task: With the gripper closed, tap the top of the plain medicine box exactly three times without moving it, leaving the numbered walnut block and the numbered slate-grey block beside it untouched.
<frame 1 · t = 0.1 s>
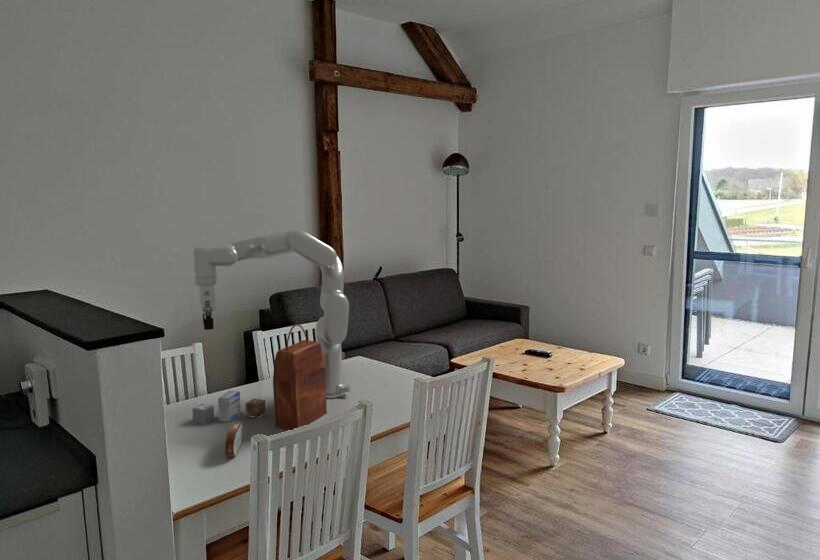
hand: (208, 326, 216), 31 cm above the table, tool pointing down, fingers open, 9 cm apart
slate-grey block: (203, 420, 208), on the table
handbag: (301, 419, 209), on the table
medicine box: (230, 418, 211), on the table
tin: (235, 451, 183), on the table
walnut block: (256, 414, 213), on the table
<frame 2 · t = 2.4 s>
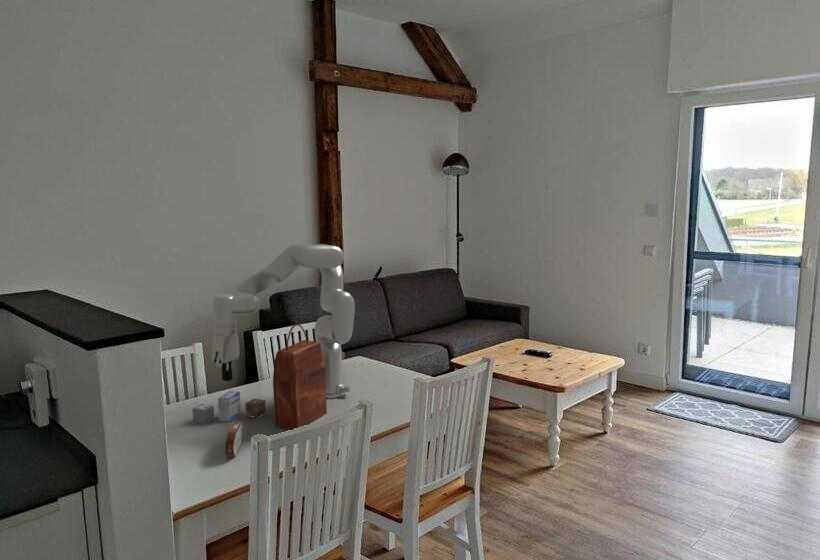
hand: (227, 380, 208), 14 cm above the table, tool pointing down, fingers closed
nothing on the table moved.
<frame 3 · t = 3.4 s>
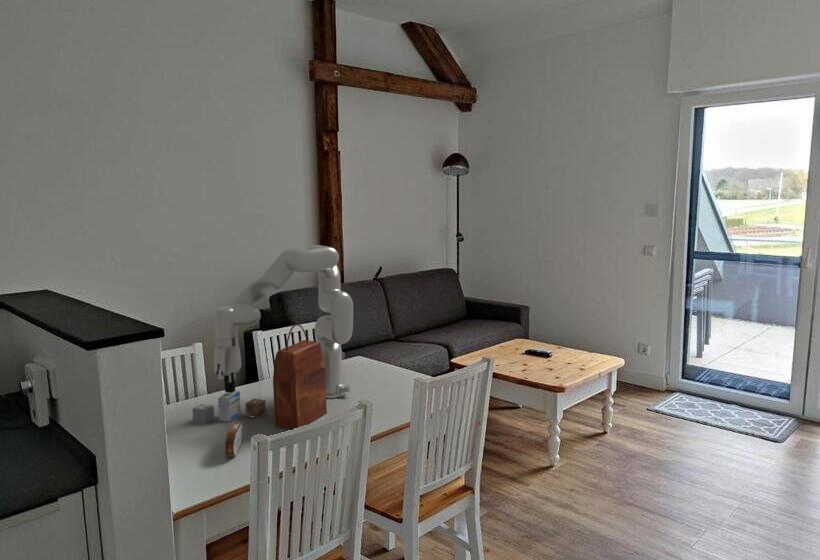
hand: (230, 391, 210), 10 cm above the table, tool pointing down, fingers closed
nothing on the table moved.
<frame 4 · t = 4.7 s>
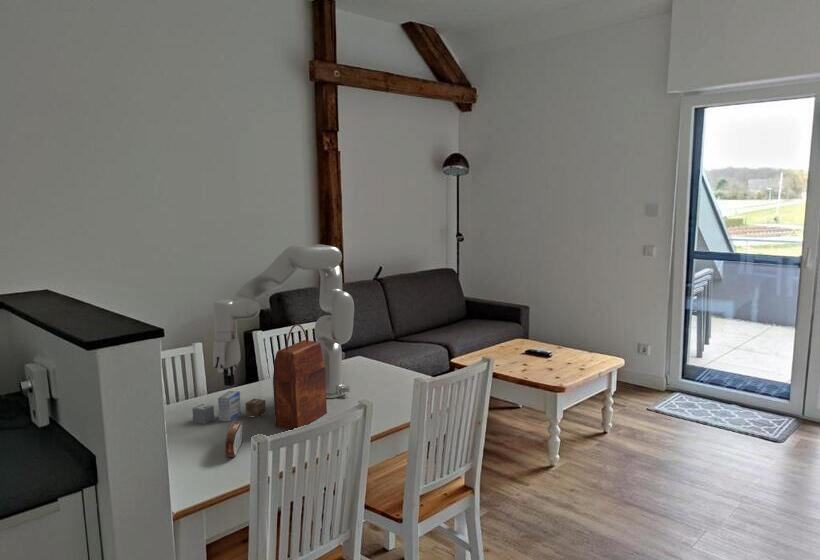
hand: (229, 384, 209), 12 cm above the table, tool pointing down, fingers closed
nothing on the table moved.
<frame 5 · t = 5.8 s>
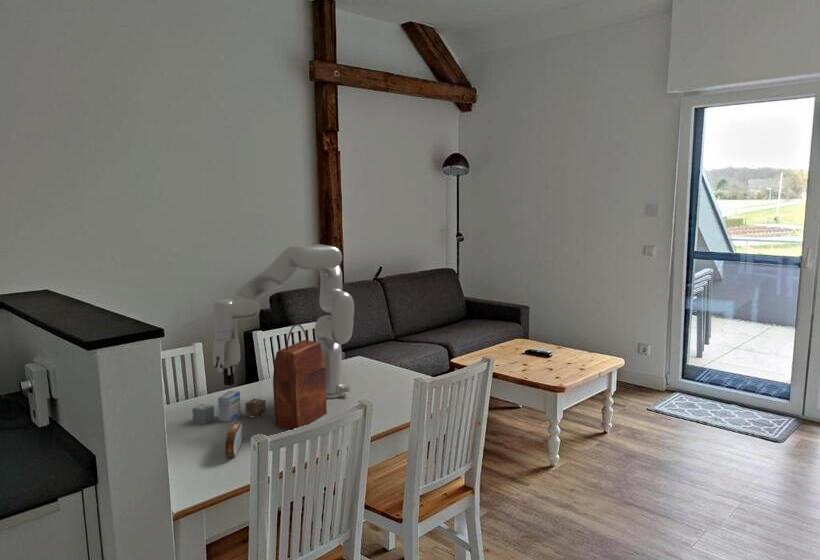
hand: (229, 384, 209), 12 cm above the table, tool pointing down, fingers closed
nothing on the table moved.
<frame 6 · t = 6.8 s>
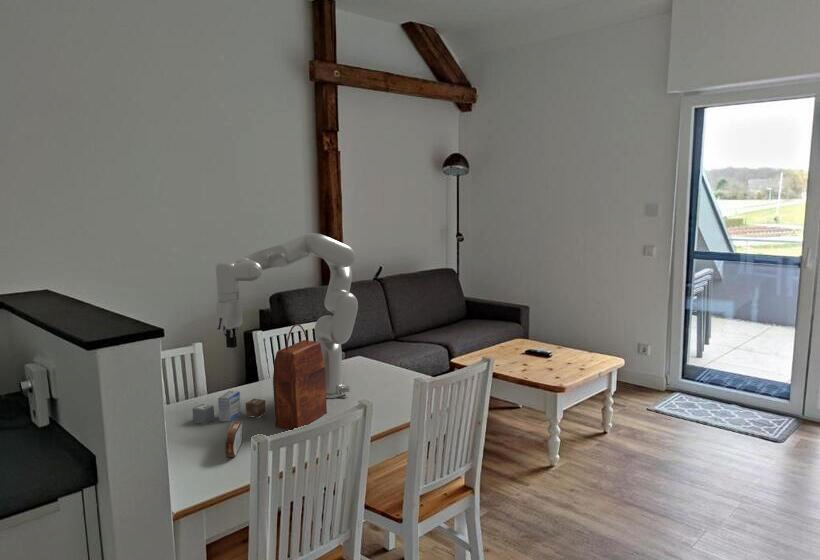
hand: (231, 347, 210), 25 cm above the table, tool pointing down, fingers closed
nothing on the table moved.
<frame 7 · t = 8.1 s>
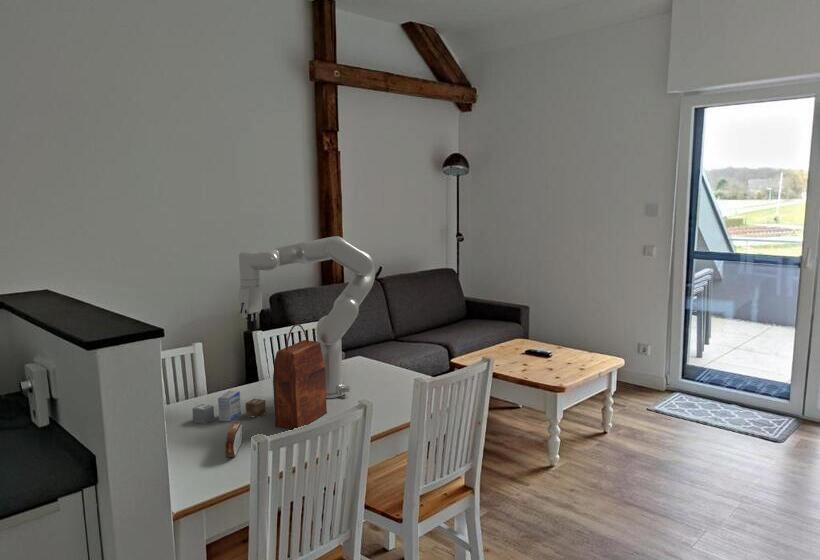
hand: (252, 330, 228), 27 cm above the table, tool pointing down, fingers closed
nothing on the table moved.
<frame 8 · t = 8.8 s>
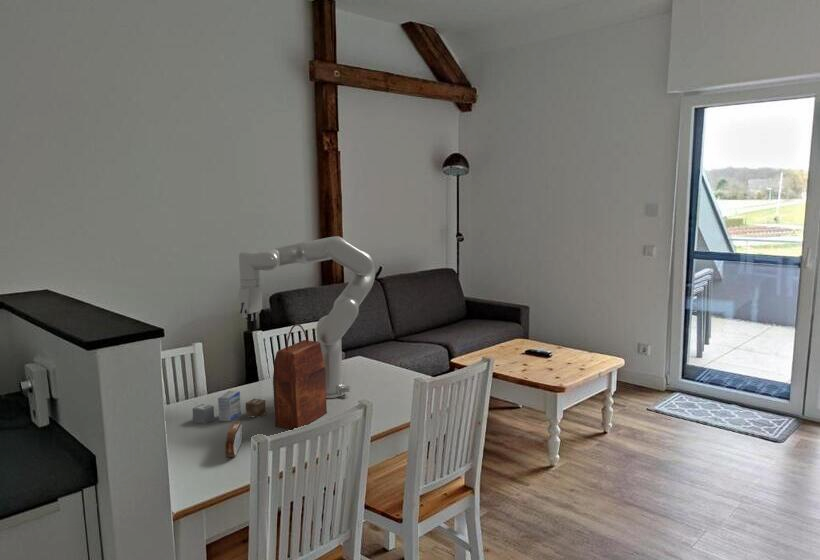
hand: (252, 330, 228), 27 cm above the table, tool pointing down, fingers closed
nothing on the table moved.
at the end: medicine box moved 0.3 cm from its start; medicine box tilted 0°; slate-grey block moved 0.1 cm from its start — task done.
